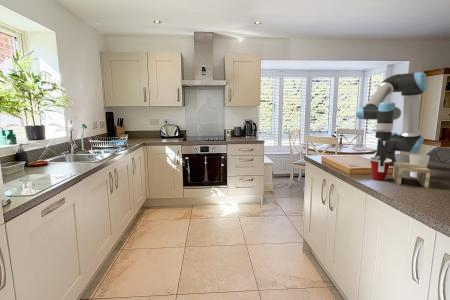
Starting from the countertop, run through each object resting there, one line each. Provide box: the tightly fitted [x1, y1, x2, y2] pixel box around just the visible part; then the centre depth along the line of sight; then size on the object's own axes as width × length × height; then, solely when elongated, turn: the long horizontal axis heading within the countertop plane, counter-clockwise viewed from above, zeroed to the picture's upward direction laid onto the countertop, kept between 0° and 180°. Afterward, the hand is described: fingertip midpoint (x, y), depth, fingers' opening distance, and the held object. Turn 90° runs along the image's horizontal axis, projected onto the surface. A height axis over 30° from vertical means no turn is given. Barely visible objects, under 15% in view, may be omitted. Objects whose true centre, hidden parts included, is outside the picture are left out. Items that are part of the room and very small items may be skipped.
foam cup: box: [408, 153, 431, 179], centre depth 146 cm, size 10×9×13 cm
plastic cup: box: [369, 156, 392, 182], centre depth 139 cm, size 11×11×12 cm
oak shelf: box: [392, 161, 432, 189], centre depth 135 cm, size 18×13×9 cm
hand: (379, 169), depth 138 cm, fingers open, 12 cm apart
